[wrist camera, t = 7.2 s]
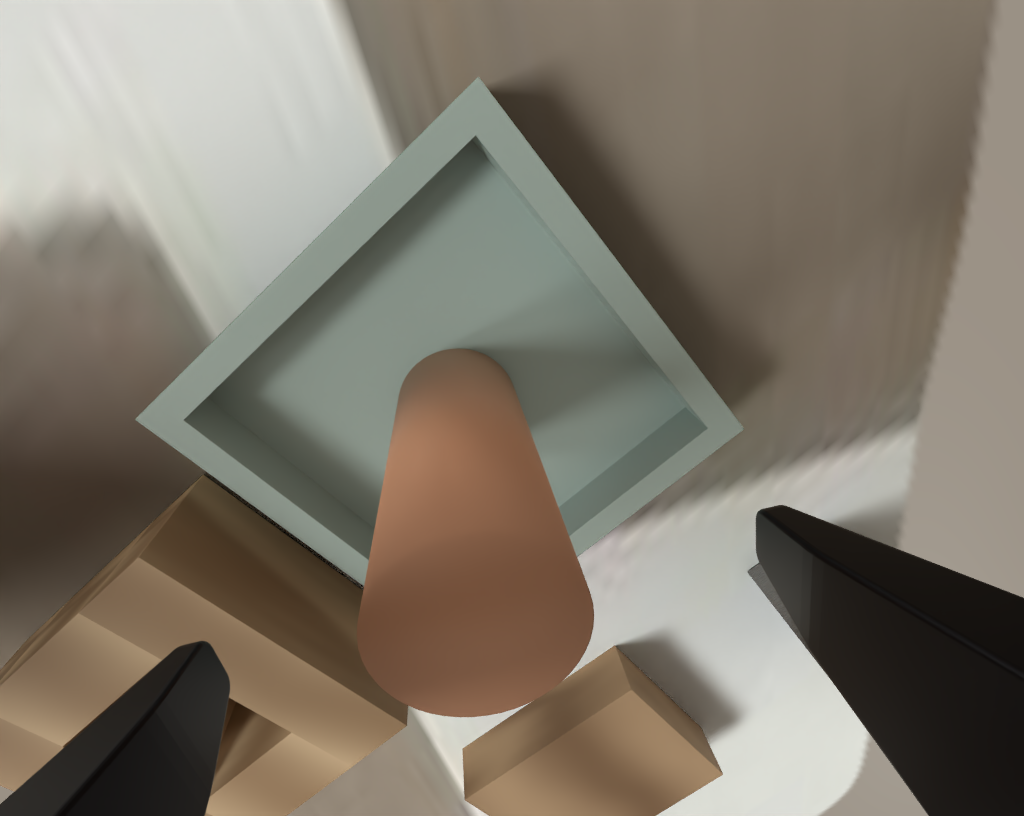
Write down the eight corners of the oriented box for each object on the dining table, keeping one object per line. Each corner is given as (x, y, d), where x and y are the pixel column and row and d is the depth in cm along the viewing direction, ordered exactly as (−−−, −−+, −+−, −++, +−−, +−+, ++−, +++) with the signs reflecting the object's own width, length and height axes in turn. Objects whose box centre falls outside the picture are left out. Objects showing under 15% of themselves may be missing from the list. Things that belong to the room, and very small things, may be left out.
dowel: (525, 443, 17) (607, 686, 9) (415, 468, 17) (394, 739, 9) (503, 336, 16) (575, 506, 8) (383, 363, 16) (323, 566, 7)
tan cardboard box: (558, 807, 26) (569, 868, 24) (462, 739, 24) (464, 799, 21) (697, 719, 25) (723, 774, 23) (611, 637, 22) (631, 689, 20)
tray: (451, 603, 20) (453, 651, 18) (173, 388, 16) (134, 419, 14) (710, 400, 18) (744, 428, 16) (472, 90, 14) (478, 76, 12)
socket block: (248, 755, 22) (210, 872, 18) (27, 639, 18) (-74, 754, 15) (412, 626, 20) (406, 725, 17) (203, 474, 17) (138, 557, 13)
